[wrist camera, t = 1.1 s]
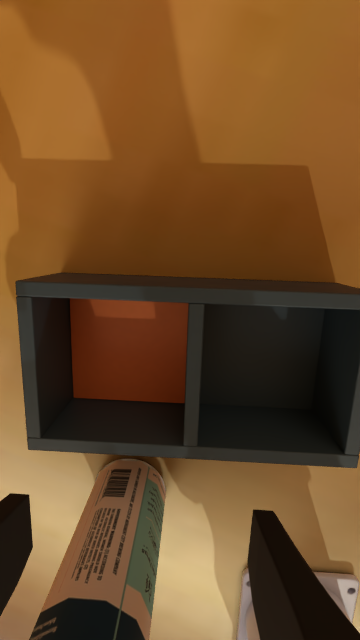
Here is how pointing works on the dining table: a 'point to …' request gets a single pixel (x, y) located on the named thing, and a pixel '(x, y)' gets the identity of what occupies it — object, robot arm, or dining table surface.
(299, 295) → the organizer
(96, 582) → the beer can
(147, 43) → the dining table surface
